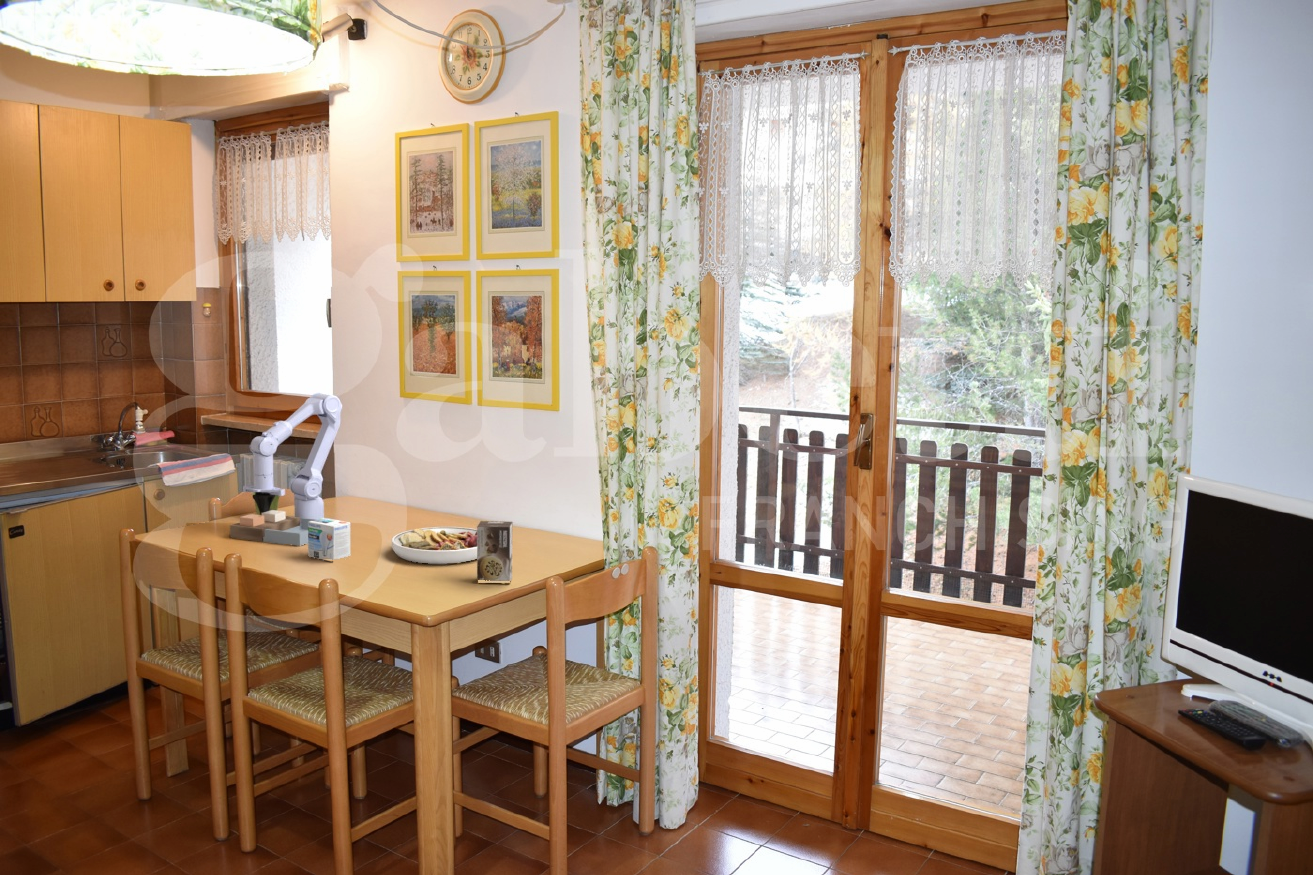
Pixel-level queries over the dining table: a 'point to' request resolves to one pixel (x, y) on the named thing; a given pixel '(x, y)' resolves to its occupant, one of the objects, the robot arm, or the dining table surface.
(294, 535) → the box
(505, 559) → the coffee box
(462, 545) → the bowl
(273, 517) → the cream tile
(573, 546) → the dining table surface
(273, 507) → the plant pot
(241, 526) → the dark brown flat block
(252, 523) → the terracotta tile
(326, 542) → the light bulb box
